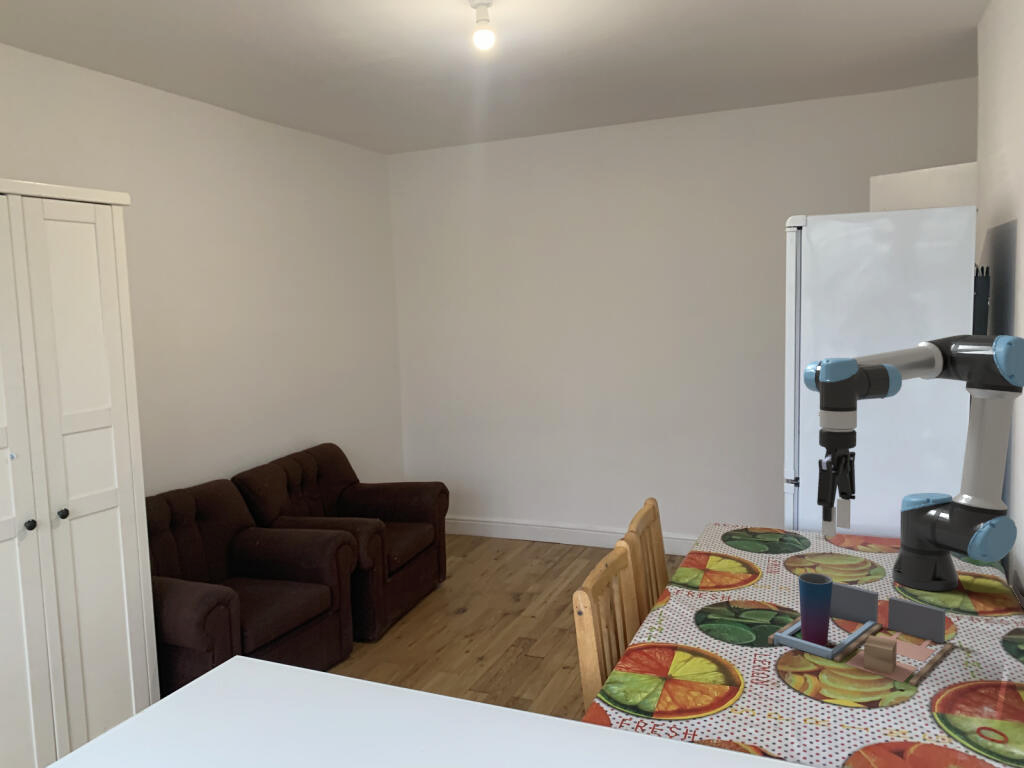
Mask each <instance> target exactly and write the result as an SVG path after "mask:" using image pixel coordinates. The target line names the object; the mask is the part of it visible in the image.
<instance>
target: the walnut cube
mask: <svg viewBox="0 0 1024 768" xmlns="http://www.w3.org/2000/svg"><path fill="white" fill-rule="evenodd" d="M863 651H864V669H869V670H873V671H877V672H881V673H885V674H890V675H892V673H893V671H894V669H895V666H896V661H897V655H898V654H897V641H895V640H890V639H886V638H881V637H879V636H876V635H869V637H868V639H867V640H866V641H865V642H864V645H863Z"/></svg>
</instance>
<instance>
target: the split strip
mask: <svg viewBox="0 0 1024 768" xmlns="http://www.w3.org/2000/svg"><path fill="white" fill-rule="evenodd" d="M946 610H947V609H944V608H940V607H936V606H932V605H927V604H925V603H924V604H923V603H920V602H915V601H912V600H907V599H904V598H898V597H894V596H890V597H889V598H888V616H887V618H888V619H887V620H888V621H887V623H888V624H887V625H888V626H887V627H888V628H887V630H891V631H894V632H895V633H894V634H892V635H891V637H890V636H886V635H882V634H880V635H878V637H881V638H886V639H890V640H895V641H897V654H896V655H899V656H902V657H906V658H910V659H911V660H912V659H913V660H916V661H919V662H924V663H925V662H926V660H927V659H928V658H929V657H930V656H932V655H933V654H934V652H936V650H935V649H934V648H933V649H932V648H929V647H928V646H929V644H931V643H932V642H935V643H939V644H944V643H945V642H946V638H945V637H946ZM902 634H904V635H905V634H906V635H908V636H913V637H917V638H919V639H920V638H921V639H923V640H925V641H924V642H922V643H921V644H920V645H918V644H915V643H912V642H911V643H910V642H907V641H903V640H901V639H897V638H899V636H900V635H902ZM844 665H847V666H851V667H854V668H856V669H859V670H863V671H865V672H868V673H872V674H876V675H878V676H880V677H884V678H888V679H891V680H894V681H897V682H900V683H904V682H905V681H906V680H907V679H908V678H909V677H910V676H911V675H912V674H913V673H914V672H915V671H916V670H917V669H918V666H917V667H916V666H913V665H910V664H907V663H903V662H900V661H897V660H896V666H895V669H894V671H893V673H892V675H890V674H885V673H881V672H877V671H873V670H869V669H864V650H860V651H858V653H856V654H855V655H854V656H853V657H851V658H850V659H849V660H848V661H847V662H845V663H844Z"/></svg>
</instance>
